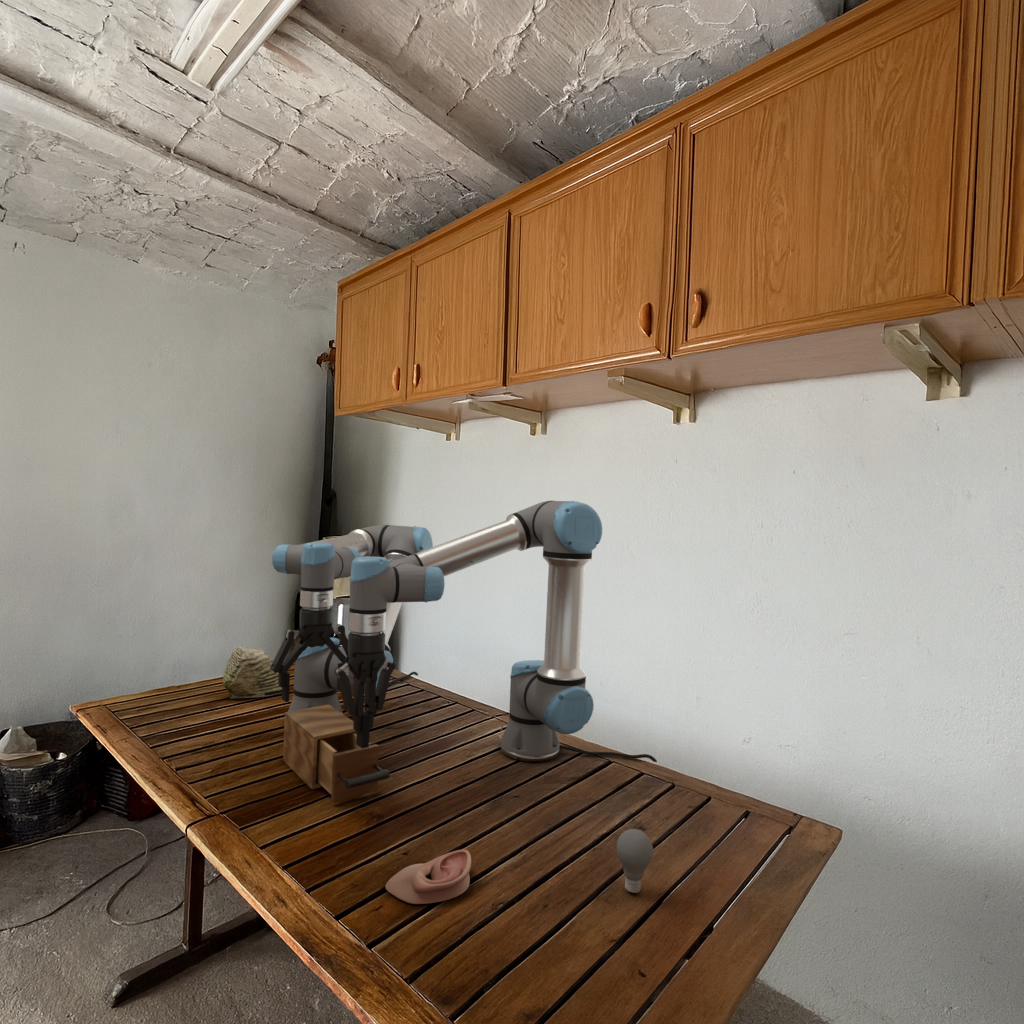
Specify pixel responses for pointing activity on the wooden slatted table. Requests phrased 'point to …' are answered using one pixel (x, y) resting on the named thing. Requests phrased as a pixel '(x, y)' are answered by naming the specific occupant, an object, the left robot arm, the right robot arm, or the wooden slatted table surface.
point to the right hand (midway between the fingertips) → (362, 745)
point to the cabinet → (310, 738)
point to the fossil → (250, 674)
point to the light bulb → (634, 857)
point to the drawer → (347, 767)
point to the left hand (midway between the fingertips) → (313, 695)
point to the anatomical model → (432, 879)
